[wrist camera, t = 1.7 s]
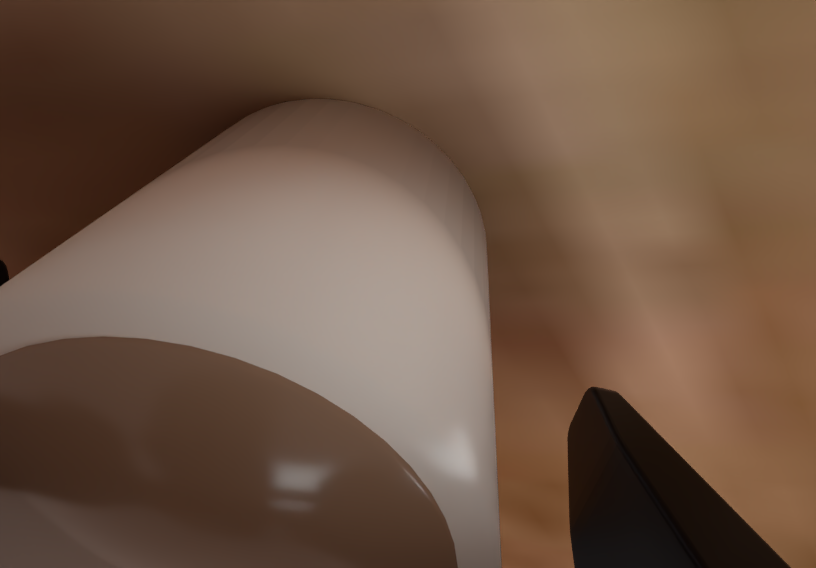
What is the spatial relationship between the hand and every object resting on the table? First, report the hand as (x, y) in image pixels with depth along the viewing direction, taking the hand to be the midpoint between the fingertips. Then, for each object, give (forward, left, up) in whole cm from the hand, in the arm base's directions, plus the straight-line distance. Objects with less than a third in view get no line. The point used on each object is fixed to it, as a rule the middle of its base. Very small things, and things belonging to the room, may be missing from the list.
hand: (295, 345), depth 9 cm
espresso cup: (0, 0, -3) cm, 3 cm away
